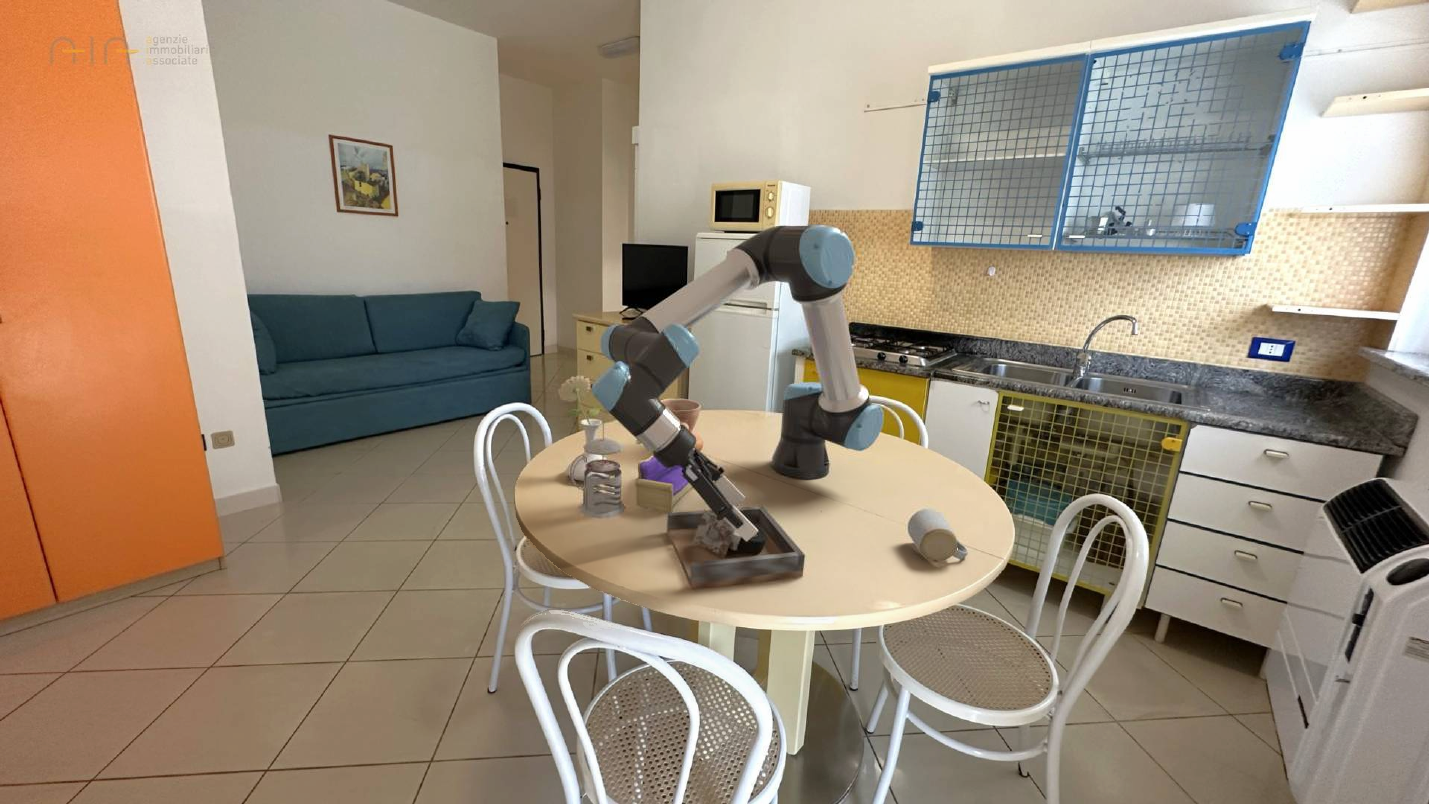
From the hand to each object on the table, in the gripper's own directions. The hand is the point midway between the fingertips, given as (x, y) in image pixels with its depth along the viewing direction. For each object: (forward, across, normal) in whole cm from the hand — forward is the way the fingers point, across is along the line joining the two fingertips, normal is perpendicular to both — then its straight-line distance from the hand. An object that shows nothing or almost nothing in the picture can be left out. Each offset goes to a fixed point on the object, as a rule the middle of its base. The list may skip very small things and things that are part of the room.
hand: (745, 518), depth 105 cm
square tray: (+3, 0, -7) cm, 8 cm away
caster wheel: (+3, 0, -6) cm, 7 cm away
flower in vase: (-18, -36, -28) cm, 49 cm away
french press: (-15, -19, -25) cm, 35 cm away
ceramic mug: (+32, 0, +22) cm, 39 cm away
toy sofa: (-3, -27, -14) cm, 31 cm away
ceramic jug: (-2, -54, -12) cm, 55 cm away
